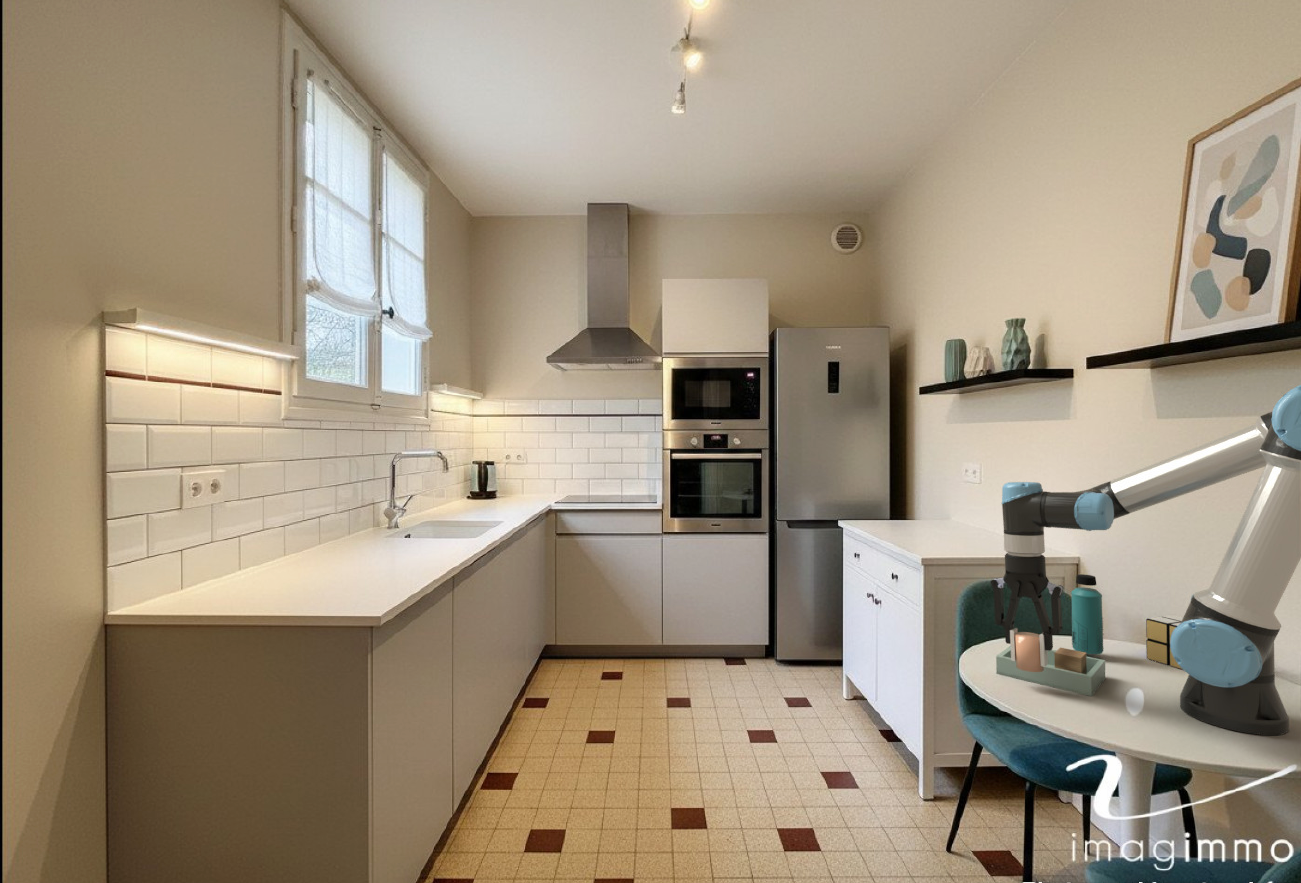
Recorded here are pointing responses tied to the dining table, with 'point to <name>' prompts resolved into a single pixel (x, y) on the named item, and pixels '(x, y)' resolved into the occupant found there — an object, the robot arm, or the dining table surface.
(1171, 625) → the puzzle cube
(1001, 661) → the tray
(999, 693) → the dining table surface
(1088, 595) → the beverage bottle
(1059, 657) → the walnut cube
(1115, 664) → the dining table surface
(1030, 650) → the peach rounded smooth part
